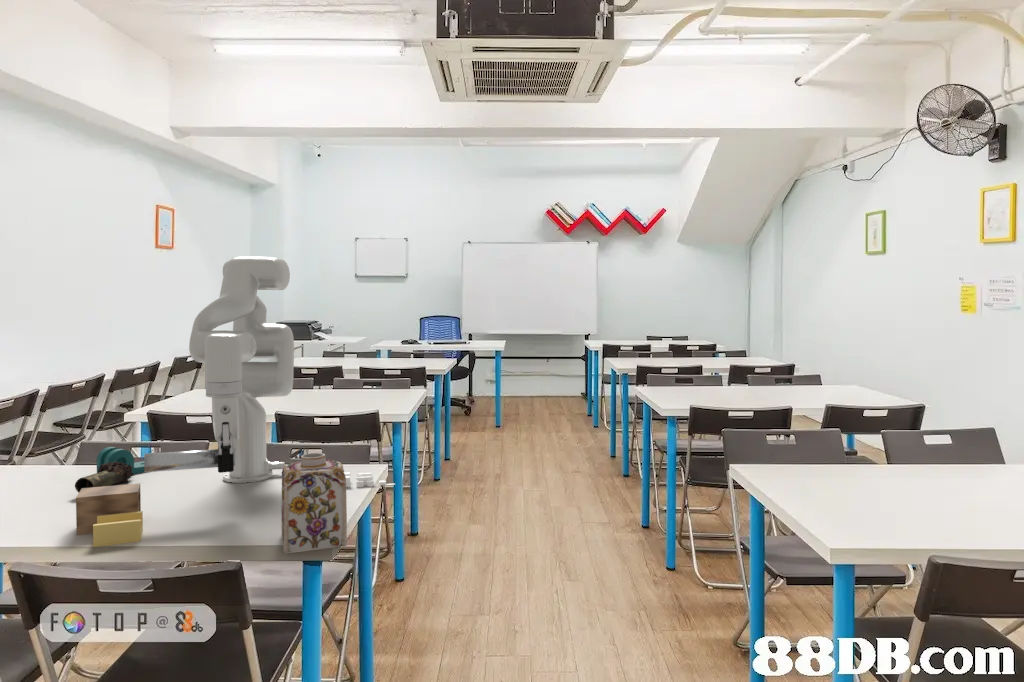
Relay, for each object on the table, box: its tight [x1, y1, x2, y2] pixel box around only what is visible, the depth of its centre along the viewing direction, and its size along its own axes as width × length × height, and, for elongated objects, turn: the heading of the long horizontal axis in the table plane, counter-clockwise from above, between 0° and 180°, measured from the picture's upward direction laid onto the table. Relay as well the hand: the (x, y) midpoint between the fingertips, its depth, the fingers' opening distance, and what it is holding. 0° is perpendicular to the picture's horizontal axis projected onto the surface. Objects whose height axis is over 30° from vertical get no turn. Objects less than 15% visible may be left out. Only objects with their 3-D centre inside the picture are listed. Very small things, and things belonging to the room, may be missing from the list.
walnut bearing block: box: [75, 482, 142, 536], centre depth 145 cm, size 11×8×8 cm
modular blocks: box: [344, 471, 396, 488], centre depth 180 cm, size 20×7×4 cm, turn 105°
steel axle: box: [143, 448, 235, 473], centre depth 152 cm, size 18×4×4 cm, turn 115°
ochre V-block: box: [92, 510, 144, 548], centre depth 137 cm, size 8×7×4 cm
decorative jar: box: [280, 452, 348, 554], centre depth 135 cm, size 12×12×18 cm
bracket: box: [96, 446, 145, 475], centre depth 194 cm, size 18×7×8 cm, turn 145°
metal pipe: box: [74, 461, 135, 493], centre depth 176 cm, size 18×7×6 cm, turn 177°
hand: (225, 468), depth 155 cm, fingers closed on steel axle, 4 cm apart
